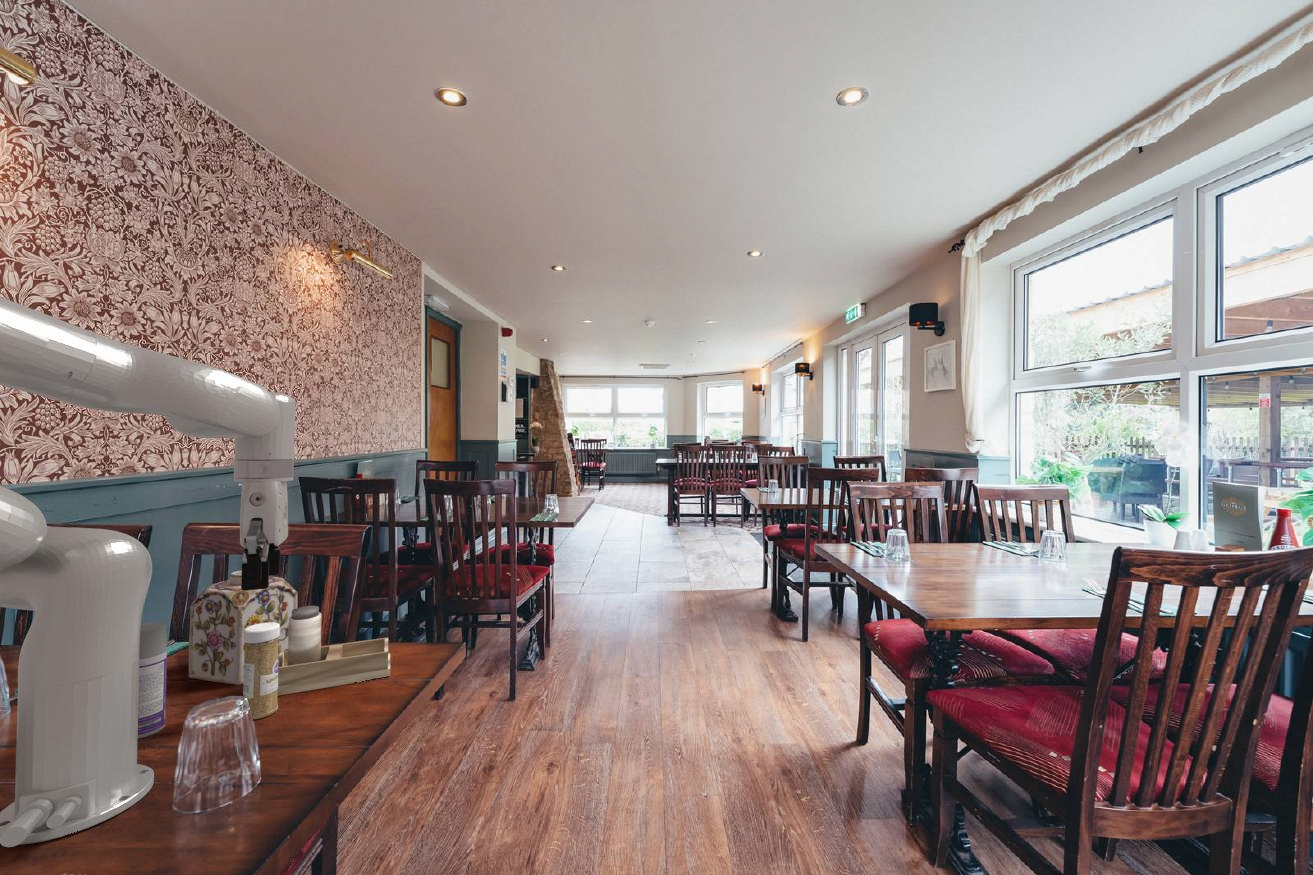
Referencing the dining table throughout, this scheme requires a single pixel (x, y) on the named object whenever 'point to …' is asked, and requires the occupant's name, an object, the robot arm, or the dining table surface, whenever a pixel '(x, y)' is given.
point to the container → (152, 678)
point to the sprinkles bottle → (261, 668)
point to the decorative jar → (234, 625)
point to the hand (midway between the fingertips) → (261, 581)
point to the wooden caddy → (326, 657)
